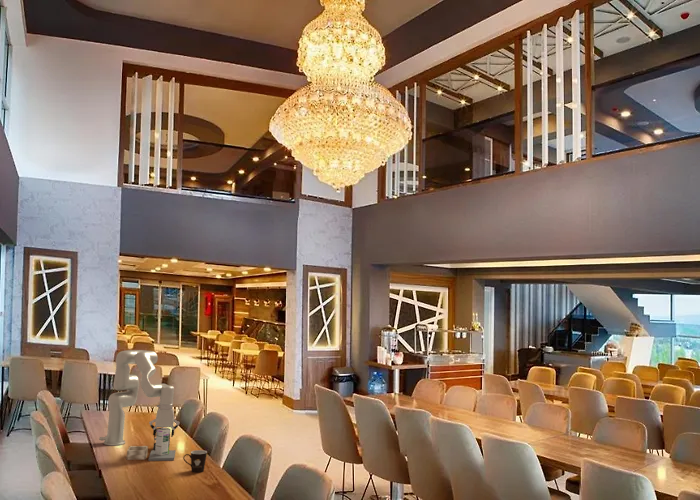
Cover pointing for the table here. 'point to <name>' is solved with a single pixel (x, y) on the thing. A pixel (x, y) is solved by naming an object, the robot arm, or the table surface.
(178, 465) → the table surface
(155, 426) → the robot arm
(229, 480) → the table surface
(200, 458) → the coffee mug
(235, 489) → the table surface
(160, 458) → the slate board
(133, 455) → the frame
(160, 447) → the syrup box
